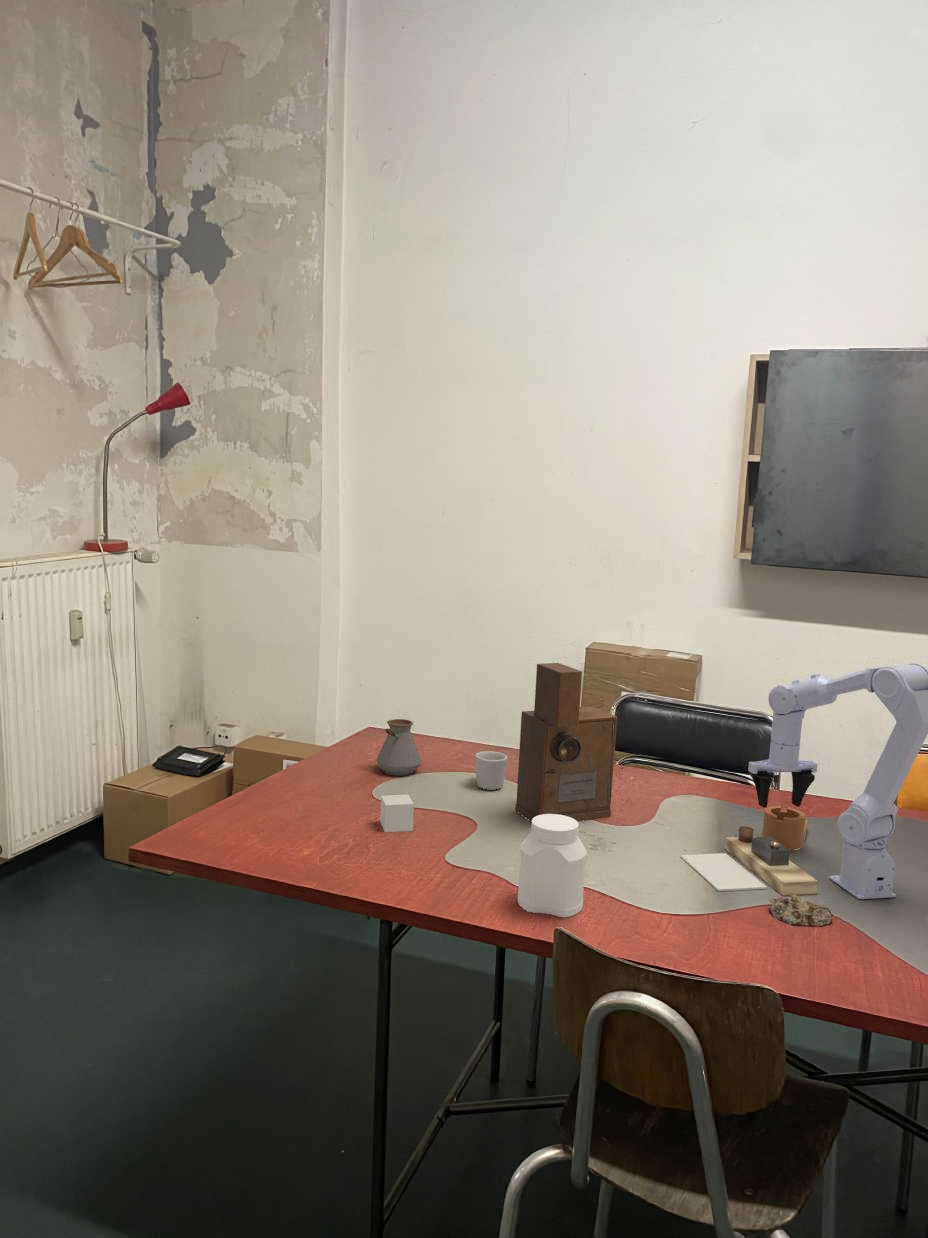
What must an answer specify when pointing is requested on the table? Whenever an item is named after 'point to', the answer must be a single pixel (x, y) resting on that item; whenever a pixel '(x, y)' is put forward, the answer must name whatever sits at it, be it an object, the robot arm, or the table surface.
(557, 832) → the jar
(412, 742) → the coffee pot
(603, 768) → the vintage camera
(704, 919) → the table surface
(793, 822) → the bracket
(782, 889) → the body
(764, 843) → the lever cap
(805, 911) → the mineral rock
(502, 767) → the cup
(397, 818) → the white cube
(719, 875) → the mat
